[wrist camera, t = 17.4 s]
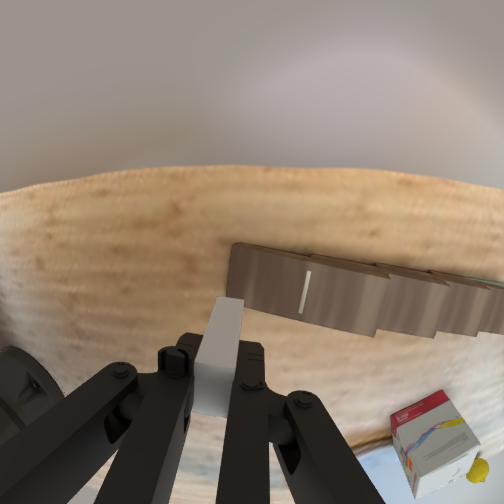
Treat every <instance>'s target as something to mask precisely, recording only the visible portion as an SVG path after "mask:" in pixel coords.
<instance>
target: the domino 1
mask: <svg viewBox="0 0 504 504" xmlns="http://www.w3.org/2000/svg"><path fill="white" fill-rule="evenodd" d="M390 284H391V278H390V276H389V274H386V273H381V272H377V271H372V270H367V269H363V268H358V267H354V266H349V265H344V264H340V263H335V262H330V261H326V260H321V259H316V258H312V257H307V256H302V255H298V254H293V253H288V252H284V251H279V250H274V249H269V248H265V247H260V246H255V245H250V244H245V243H241V242H240V243H237V244H235V245H232V252H231V260H230V268H229V276H228V283H227V291H226V297H228V298H235V299H242V300H244V307H247V308H250V309H254V310H258V311H262V312H266V313H269V314H273V315H277V316H281V317H285V318H289V319H293V320H297V321H302V322H306V323H310V324H314V325H319V326H323V327H327V328H332V329H336V330H341V331H346V332H350V333H355V334H360V335H365V336H370V337H374V336H375V333H376V330H377V327H378V324H379V321H380V318H381V314H382V311H383V308H384V305H385V301H386V298H387V294H388V291H389V287H390Z"/></svg>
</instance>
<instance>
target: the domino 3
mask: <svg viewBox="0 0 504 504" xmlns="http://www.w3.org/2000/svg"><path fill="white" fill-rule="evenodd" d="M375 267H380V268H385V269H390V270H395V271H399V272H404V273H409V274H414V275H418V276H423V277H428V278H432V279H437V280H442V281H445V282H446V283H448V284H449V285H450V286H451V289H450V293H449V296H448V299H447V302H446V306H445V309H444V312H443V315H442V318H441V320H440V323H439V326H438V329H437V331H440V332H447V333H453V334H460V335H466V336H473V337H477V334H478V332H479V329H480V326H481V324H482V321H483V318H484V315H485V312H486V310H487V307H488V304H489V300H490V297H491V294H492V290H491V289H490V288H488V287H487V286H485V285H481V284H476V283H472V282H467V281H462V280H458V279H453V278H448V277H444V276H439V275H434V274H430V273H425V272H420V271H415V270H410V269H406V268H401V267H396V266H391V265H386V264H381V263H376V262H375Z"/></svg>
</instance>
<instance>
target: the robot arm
mask: <svg viewBox="0 0 504 504" xmlns="http://www.w3.org/2000/svg"><path fill="white" fill-rule="evenodd" d="M243 307H244V300H242V299H235V298H228V297H221V296H218V297H217V300H216V303H215V306H214V308H213V311H212V314H211V317H210V319H209V322H208V325H207V328H206V331H205V333H204V335H199V334H193V333H188V332H187V333H185V334H183V335H182V336H180V338H179V340H178V342H177V344H176V346H168V347H164V348H162V349H160V350H159V351H158V371H157V372H155V373H137V370H136V368H135V367H134V366H133V365H131V364H129V363H125V362H115V363H111V364H109V365H107V366H106V367H105V368H103V369H102V370H101V371H99V372H98V373H97V374H95V375H94V376H93V377H91V378H90V379H89V380H87V381H86V382H85V383H83V384H82V385H81V386H79V387H78V388H77V389H75V390H74V391H73V392H72V393H70V394H69V395H68V396H66V397H65V398H64V396H63V394H62V393H61V391H60V389H59V388H58V386H57V385H56V383H55V382H54V380H53V379H52V378H51V377H50V375H49V374H48V373H47V372H46V371H45V370H44V368H43V367H42V366H41V365H40V364H39V363H38V362H36V361H35V360H34V359H33V358H32V357H31V356H29V355H28V354H27V353H25V352H24V351H22V350H20V349H18V348H15V347H6V348H5V349H4V350H2V351H1V352H0V504H67V503H68V502H69V501H70V500H71V499H72V498H73V496H74V495H76V494H77V492H78V491H79V490H80V489H81V488H82V487H83V486H84V485H85V484H86V483H87V482H88V481H89V480H90V479H91V478H92V477H93V476H94V475H95V473H96V472H97V471H98V470H99V469H100V468H101V467H102V466H103V465H104V464H105V463H106V462H107V461H108V459H109V458H110V457H111V456H112V455H113V454H114V453H115V452H116V451H117V450H118V449H119V450H118V452H117V454H116V456H115V458H114V460H113V462H112V464H111V467H110V469H109V471H108V473H107V475H106V477H105V479H104V482H103V484H102V486H101V488H100V490H99V493H98V495H97V497H96V499H95V502H94V504H168V503H169V500H170V496H171V492H172V488H173V484H174V480H175V476H176V473H177V469H178V465H179V461H180V458H181V454H182V450H183V446H184V443H185V439H186V435H187V432H188V428H189V424H190V413H191V410H192V412H194V413H199V414H205V415H211V416H217V417H224V418H227V424H226V431H225V438H224V445H223V452H222V460H221V467H220V474H219V481H218V488H217V496H216V503H215V504H270V475H269V442H271V443H273V447H274V450H275V453H276V455H277V458H278V461H279V463H280V466H281V469H282V471H283V474H284V476H285V479H286V481H287V484H288V487H289V489H290V492H291V494H292V497H293V499H294V502H295V504H386V503H385V502H384V500H383V499H382V497H381V496H380V494H379V493H378V491H377V489H376V488H375V486H374V485H373V483H372V482H371V480H370V479H369V477H368V475H367V474H366V472H365V471H364V469H363V468H362V466H361V464H360V463H359V461H358V460H357V458H356V457H355V455H354V453H353V452H352V450H351V449H350V447H349V445H348V444H347V442H346V441H345V439H344V437H343V436H342V434H341V433H340V431H339V429H338V428H337V426H336V425H335V423H334V421H333V420H332V418H331V416H330V415H329V413H328V412H327V410H326V408H325V407H324V405H323V403H322V402H321V400H320V399H319V398H318V397H317V396H316V395H315V394H313V393H311V392H307V391H299V390H298V391H293V392H291V393H290V394H288V396H284V395H280V394H278V393H275V392H273V391H272V390H270V389H269V388H268V387H267V384H266V382H265V363H264V348H263V347H262V345H261V344H260V343H258V342H250V341H243V340H239V338H240V330H241V322H242V314H243Z"/></svg>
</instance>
